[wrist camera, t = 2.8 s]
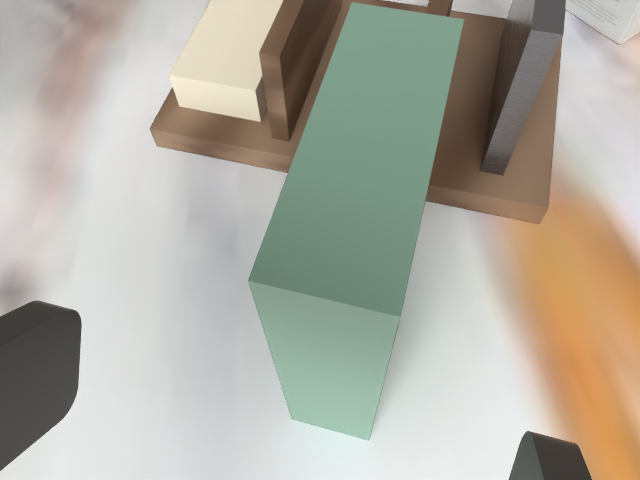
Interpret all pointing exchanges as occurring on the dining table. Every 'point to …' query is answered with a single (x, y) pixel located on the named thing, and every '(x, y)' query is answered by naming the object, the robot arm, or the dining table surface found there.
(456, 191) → the book rack
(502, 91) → the bookend
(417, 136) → the book
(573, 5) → the small box
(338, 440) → the dining table surface
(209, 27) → the toppled book
